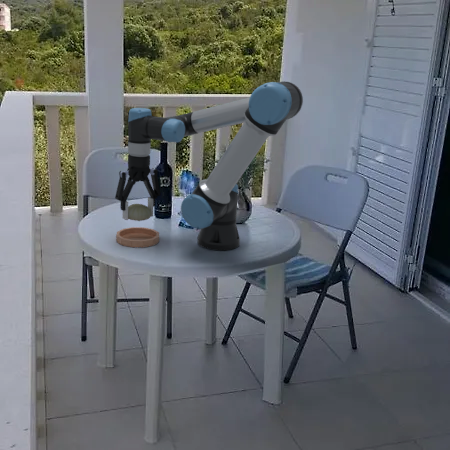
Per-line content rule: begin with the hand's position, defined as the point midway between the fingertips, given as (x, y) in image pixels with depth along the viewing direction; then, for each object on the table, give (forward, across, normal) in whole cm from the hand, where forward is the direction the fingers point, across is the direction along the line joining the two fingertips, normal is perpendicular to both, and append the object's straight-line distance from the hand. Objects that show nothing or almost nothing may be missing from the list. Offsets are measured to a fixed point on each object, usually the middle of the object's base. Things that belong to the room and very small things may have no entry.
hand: (137, 217), depth 202 cm
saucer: (+9, 0, 0) cm, 9 cm away
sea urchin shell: (+1, 0, 0) cm, 1 cm away
